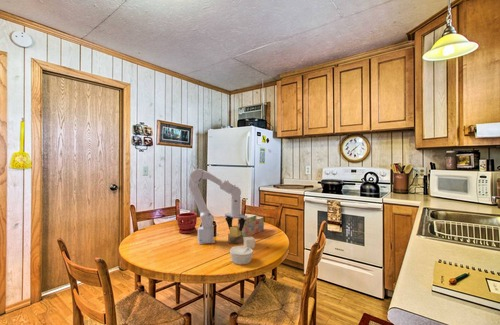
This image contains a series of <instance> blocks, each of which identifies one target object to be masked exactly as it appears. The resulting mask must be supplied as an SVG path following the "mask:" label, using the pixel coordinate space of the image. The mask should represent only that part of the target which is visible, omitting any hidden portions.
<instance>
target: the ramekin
mask: <svg viewBox="0 0 500 325" xmlns="http://www.w3.org/2000/svg"><path fill="white" fill-rule="evenodd" d="M233 247H234V248H232V247H231V248H230V249H229V254H230V260H231V262H232V263H233V264H236V265H247V264H249V263H251V261H252V258H253V254H254V250H253V248H249V247H244V245H238V247H236V246H233Z"/></svg>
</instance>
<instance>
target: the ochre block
mask: <svg viewBox="0 0 500 325" xmlns="http://www.w3.org/2000/svg"><path fill="white" fill-rule="evenodd" d="M229 234H230V236H233V237H238V236H240V235H241V231H240V230H239V226H238V225H232V227H230V229H229Z"/></svg>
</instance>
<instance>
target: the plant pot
mask: <svg viewBox="0 0 500 325" xmlns="http://www.w3.org/2000/svg"><path fill="white" fill-rule="evenodd" d="M197 221H198V214H197V213H196V212H181V213H178V214H177V215H176V223H177V227H178V232H179V233H181V234H191V233H194V232H195V231H196V230H197V227H196V226H197V223H198V222H197Z"/></svg>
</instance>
